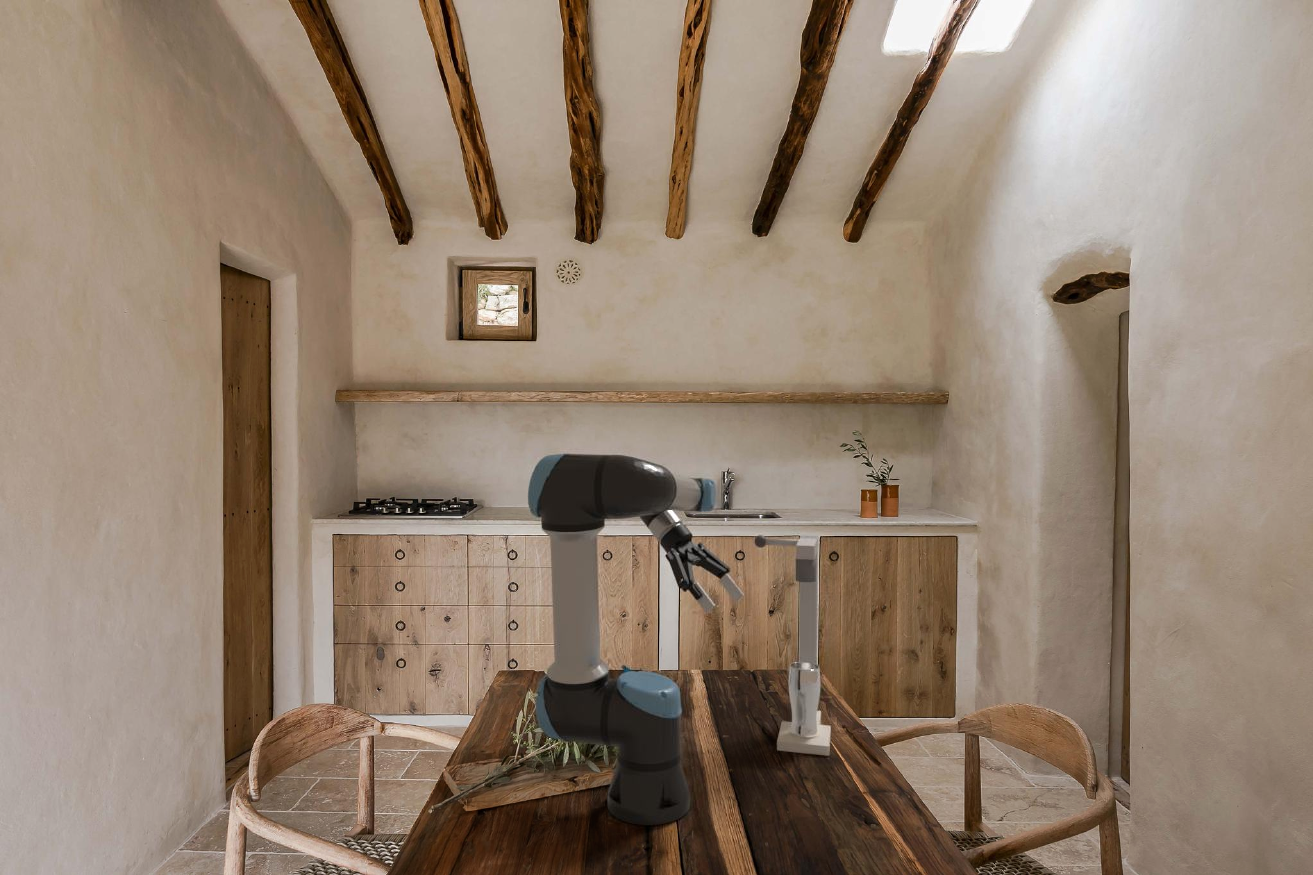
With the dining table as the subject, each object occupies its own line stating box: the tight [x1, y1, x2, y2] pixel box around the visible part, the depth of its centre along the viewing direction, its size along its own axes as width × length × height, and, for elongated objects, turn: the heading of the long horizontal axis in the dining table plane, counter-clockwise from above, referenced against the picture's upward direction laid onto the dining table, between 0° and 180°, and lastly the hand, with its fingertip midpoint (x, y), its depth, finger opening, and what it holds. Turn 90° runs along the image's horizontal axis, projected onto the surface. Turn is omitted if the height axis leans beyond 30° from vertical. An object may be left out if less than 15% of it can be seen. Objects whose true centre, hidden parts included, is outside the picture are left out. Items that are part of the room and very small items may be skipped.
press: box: [753, 534, 832, 757], centre depth 175 cm, size 21×18×44 cm
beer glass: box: [788, 661, 821, 738], centre depth 170 cm, size 7×7×15 cm
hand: (726, 603), depth 175 cm, fingers open, 13 cm apart
